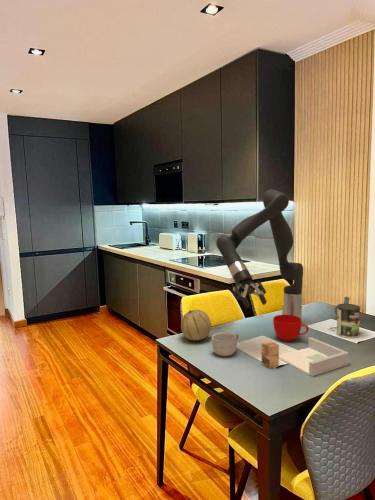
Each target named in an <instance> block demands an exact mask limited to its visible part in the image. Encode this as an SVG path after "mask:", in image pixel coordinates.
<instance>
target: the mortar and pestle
mask: <svg viewBox="0 0 375 500" xmlns="http://www.w3.org/2000/svg"><path fill="white" fill-rule="evenodd" d="M343 299H344V300H343V304H350V300H351V299H350V297H348V296H344V297H343ZM334 313H335V315H336V316H337V305H336V306H334Z"/></svg>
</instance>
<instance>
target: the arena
mask: <svg viewBox="0 0 375 500" xmlns="http://www.w3.org/2000/svg"><path fill="white" fill-rule="evenodd" d="M349 356H350V354H349V351H346V350H343V349H341V348H338V347H336V346H333V345H332V344H329V343H327V342H323V341H321V340H319V339H317V338H314V337H312V336H311V337H308V347H306V348H302V349H298V350H294V351H291V352H287V353H283V354H281V355H280V354H279V358H280V359H282V360H283V361H282V360H281V361H282V362H284V361H285V362H284V363H286V364H288V365H290V366H292V367H293V368H296V369H297V370H300V371H301V372H303V373H305V374H307V375H309V376H311V377H315V376H318V375H321V374H324V373H327V372H331V371H334V370H336V369H340V368H342V367H346V366H348V365H349V363H350V362H349V359H350V357H349ZM280 359H279V360H280Z"/></svg>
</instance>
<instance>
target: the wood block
mask: <svg viewBox="0 0 375 500" xmlns="http://www.w3.org/2000/svg"><path fill="white" fill-rule="evenodd" d="M279 348H280V344H278V343H277V342H274V341H272V340H267V341H263V342H261V365H263V366H265V367H266V368H268V369H269V370H270V369H274V368H277V367H279V366H280V359H279V356H280V352H279V351H280V349H279Z"/></svg>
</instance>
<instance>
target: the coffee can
mask: <svg viewBox="0 0 375 500" xmlns="http://www.w3.org/2000/svg"><path fill="white" fill-rule="evenodd" d="M336 306H337V315H336V335H337V336H340V337H342V338H344V339H345V338H347V339H357V338H359V337H360V322H361V321H360V318H361V306H359V305H357V304H354V303H353V304H352V303H349V304H344V303H339V304H337V305H336Z"/></svg>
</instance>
